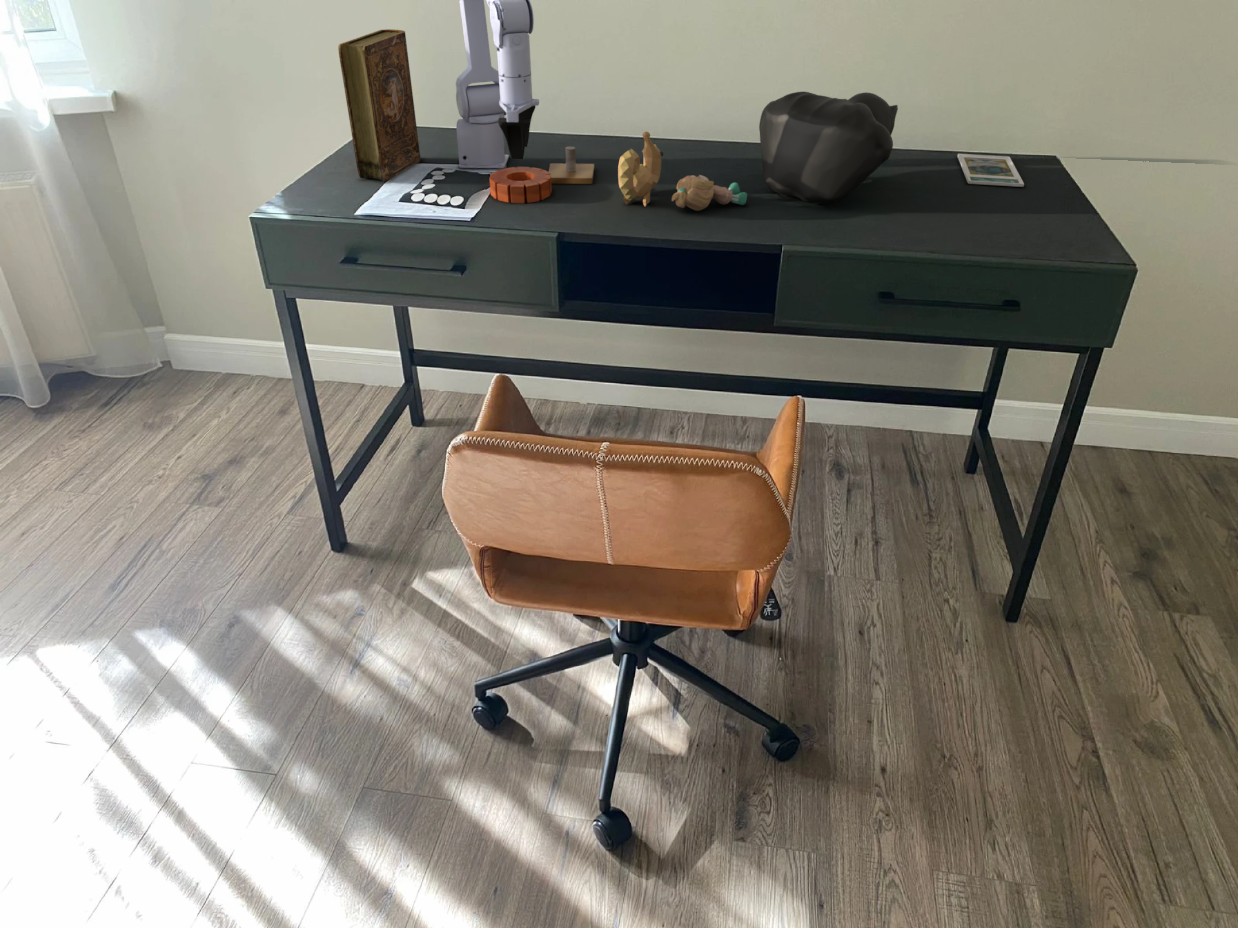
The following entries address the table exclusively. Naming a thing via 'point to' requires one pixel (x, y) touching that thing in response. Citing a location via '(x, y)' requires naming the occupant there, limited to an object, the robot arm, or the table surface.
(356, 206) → the table surface
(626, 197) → the toy
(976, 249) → the table surface
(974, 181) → the trading card
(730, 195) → the toy
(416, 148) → the book
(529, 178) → the ring
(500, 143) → the robot arm
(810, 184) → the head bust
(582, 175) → the rack
